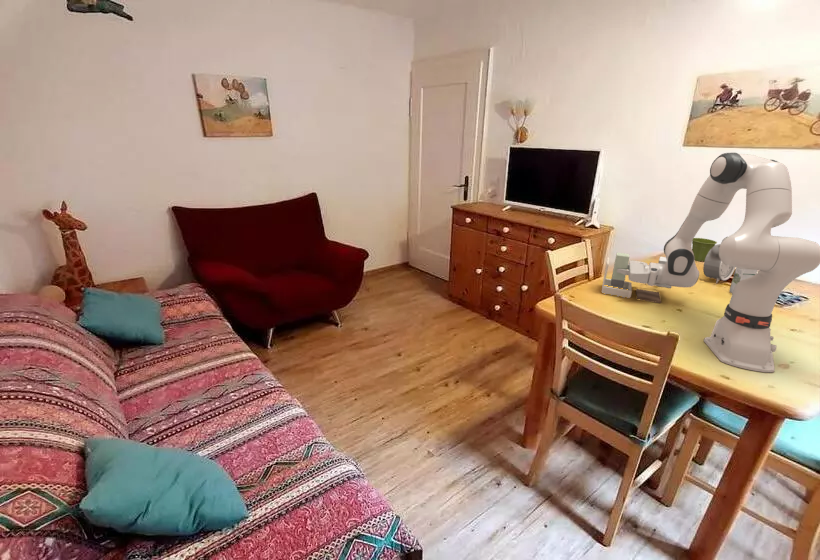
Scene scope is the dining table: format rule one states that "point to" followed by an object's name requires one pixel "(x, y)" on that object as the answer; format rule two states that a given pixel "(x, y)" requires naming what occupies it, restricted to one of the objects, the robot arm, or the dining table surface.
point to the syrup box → (741, 276)
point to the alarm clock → (716, 265)
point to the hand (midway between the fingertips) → (617, 268)
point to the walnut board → (648, 295)
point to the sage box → (622, 263)
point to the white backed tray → (616, 290)
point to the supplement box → (662, 261)
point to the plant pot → (701, 248)
